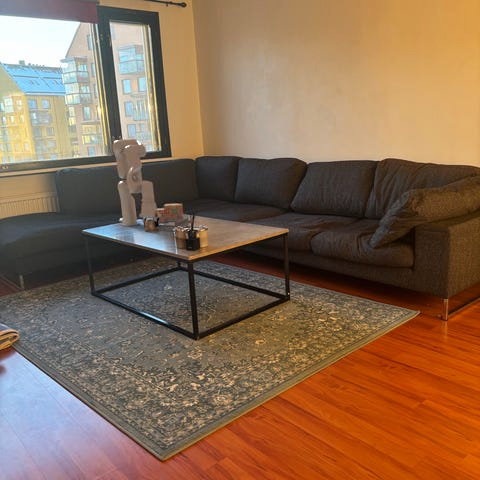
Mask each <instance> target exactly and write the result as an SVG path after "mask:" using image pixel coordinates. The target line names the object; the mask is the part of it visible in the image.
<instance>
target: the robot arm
mask: <svg viewBox="0 0 480 480" xmlns="http://www.w3.org/2000/svg"><path fill="white" fill-rule="evenodd" d="M112 151H113V153H114V156H115V159H116V168H117V173H118V177H119V178H120V179H124V180H121V181H119V182H118V183H117V189H118V194H119V197H120V204H121V214H122V217H121V218H119V222H121V226H124V227H129V226H131V227H132V226H135V225H139V224H140V221H138V219H137V211H136V202H135V201H136V200H135V198H134V197H133V195H132V194H139V193H141V197H142V198H141V199H140V200H141V208H140V209H141V211H140V213H139V215H138V216H139V218H140V219H141V221H142V222H143V223H142V224H143V228H145V221H146V220H148V219H153V218H154V220H155V227H157V228H158V227H159V225H160V224H159V223H160V222H158V221H159V219H160V217H161V214H160V213H158V212H157V209H158V208H157V203H156V201H155V195H154V185H153V182H152V181H148V180H143V176H142V170H141V169H142V167H143V163H142V161H141V158H142V157H143V158H144V157H145V156H146V155H147V150H146V147H145V145H144V144H143V143H142V142H141V141H140V140H138V139H136V138H130V139H129V138H128V139H118V140H114V142H113V143H112ZM125 179H126V180H125Z"/></svg>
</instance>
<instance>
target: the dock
mask: <svg viewBox="0 0 480 480" xmlns="http://www.w3.org/2000/svg"><path fill="white" fill-rule="evenodd" d="M188 225H189V217H185V218H184V219H182V220H180V221H175V220H170V222H165V223H164V224H159V227H157V228H158V230H157V231H167V232H169V231H170V232H171V231H172V232H173V229H174V228H175V227H178V226H181V227H184V226H187V227H189V226H188Z"/></svg>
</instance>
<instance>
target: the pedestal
mask: <svg viewBox="0 0 480 480" xmlns="http://www.w3.org/2000/svg"><path fill="white" fill-rule="evenodd" d="M144 229H145V231H144V232H146V233H155V232H157V231H159V230H158V227H155V220H154V219H153V218H148V219H146V221H145V227H144Z"/></svg>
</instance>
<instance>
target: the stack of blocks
mask: <svg viewBox="0 0 480 480" xmlns="http://www.w3.org/2000/svg"><path fill="white" fill-rule="evenodd" d="M157 212H158V213H160V214H161V217H160V219H159V221H158V223H169V222H170V220H175V221H180V220H182V219H185V218H184V207H183V203H165V204H164V205H163V207H162V208H157ZM152 219H154V218H152Z"/></svg>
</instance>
